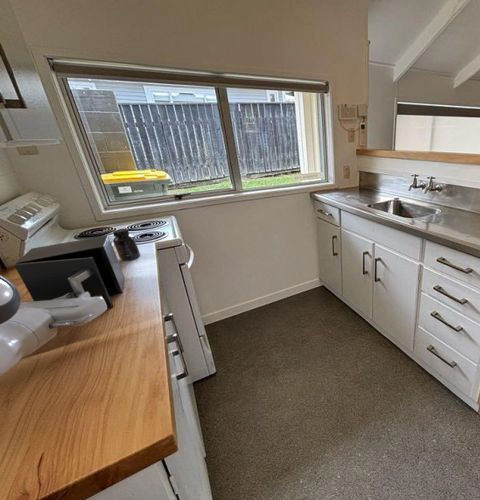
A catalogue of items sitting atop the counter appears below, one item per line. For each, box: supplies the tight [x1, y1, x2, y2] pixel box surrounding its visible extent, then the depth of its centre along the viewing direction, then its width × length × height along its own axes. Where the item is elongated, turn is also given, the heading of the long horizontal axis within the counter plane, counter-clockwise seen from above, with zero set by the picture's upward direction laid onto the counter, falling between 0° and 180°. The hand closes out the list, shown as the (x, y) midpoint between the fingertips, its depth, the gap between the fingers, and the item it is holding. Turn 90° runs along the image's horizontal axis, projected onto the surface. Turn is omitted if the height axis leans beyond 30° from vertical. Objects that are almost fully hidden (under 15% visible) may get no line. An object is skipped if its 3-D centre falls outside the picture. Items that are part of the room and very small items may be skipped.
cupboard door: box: [14, 257, 114, 310], centre depth 74 cm, size 7×18×16 cm, turn 98°
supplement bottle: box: [112, 228, 141, 262], centre depth 113 cm, size 7×7×12 cm
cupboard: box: [15, 234, 126, 298], centre depth 86 cm, size 13×18×16 cm
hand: (80, 294), depth 73 cm, fingers closed, pressing on cupboard door
